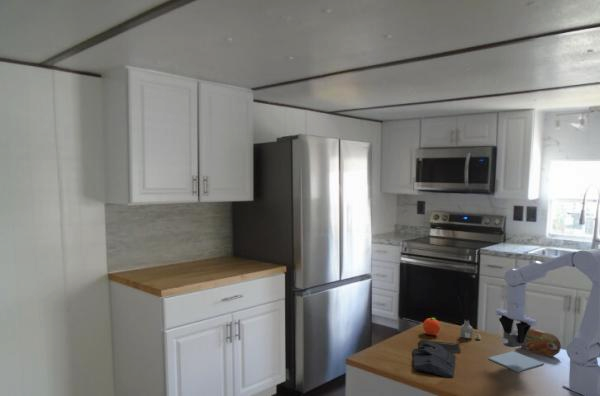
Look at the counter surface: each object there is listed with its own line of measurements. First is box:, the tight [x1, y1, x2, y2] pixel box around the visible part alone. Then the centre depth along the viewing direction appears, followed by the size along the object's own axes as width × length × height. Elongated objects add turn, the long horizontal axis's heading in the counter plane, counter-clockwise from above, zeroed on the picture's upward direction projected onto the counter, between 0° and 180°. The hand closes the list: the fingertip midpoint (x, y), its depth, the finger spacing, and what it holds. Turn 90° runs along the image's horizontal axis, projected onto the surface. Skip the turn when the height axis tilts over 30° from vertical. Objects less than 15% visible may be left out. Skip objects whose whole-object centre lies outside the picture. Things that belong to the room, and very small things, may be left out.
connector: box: [499, 330, 526, 348], centre depth 152 cm, size 4×10×4 cm, turn 110°
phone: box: [418, 339, 461, 354], centre depth 167 cm, size 8×1×15 cm
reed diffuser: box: [456, 289, 482, 340], centre depth 178 cm, size 10×7×20 cm
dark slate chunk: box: [412, 340, 456, 378], centre depth 152 cm, size 15×22×5 cm
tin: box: [520, 327, 562, 358], centre depth 163 cm, size 15×3×8 cm, turn 37°
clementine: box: [422, 317, 441, 336], centre depth 181 cm, size 8×7×7 cm
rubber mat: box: [487, 350, 545, 373], centre depth 154 cm, size 12×14×1 cm
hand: (514, 340), depth 152 cm, fingers closed on connector, 4 cm apart
